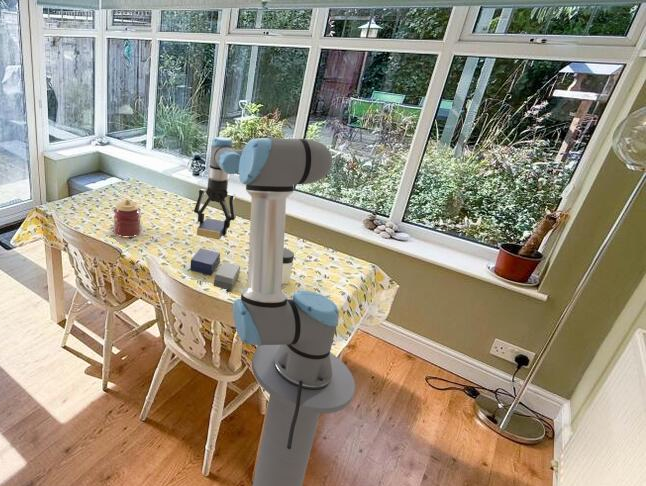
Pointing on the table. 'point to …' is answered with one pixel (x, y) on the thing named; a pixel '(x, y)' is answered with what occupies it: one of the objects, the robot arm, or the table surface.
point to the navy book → (211, 228)
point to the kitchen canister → (127, 218)
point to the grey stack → (227, 276)
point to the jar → (287, 265)
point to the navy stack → (205, 261)
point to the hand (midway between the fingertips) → (212, 232)
